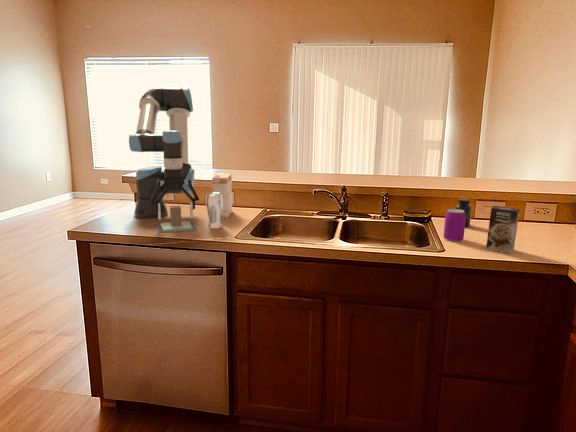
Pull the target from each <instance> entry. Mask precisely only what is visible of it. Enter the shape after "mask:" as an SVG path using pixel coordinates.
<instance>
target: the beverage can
mask: <svg viewBox="0 0 576 432" xmlns="http://www.w3.org/2000/svg"><path fill="white" fill-rule="evenodd" d="M465 221H466V216H465V212H464V210H460V209H455V208H448V209H447V211H446V213H445V219H444V226H443V227H444V228H443V229H444V230H443V238H444V239H445V240H446V239H447V240H446V241H449V240H450V241H449V242H455V241H458V242H461V241H462V240H464V239H465V238H464V236H465V228H466V227H465Z"/></svg>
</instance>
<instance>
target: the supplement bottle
mask: <svg viewBox="0 0 576 432" xmlns="http://www.w3.org/2000/svg"><path fill="white" fill-rule="evenodd" d="M470 201H471V200H470V199H468V198H458V201H457V204H456V206H455V208H454V209H460V210H464V212H465V216H466V221H465V228H467V227H468V228H469V227H471V226H470V225H471V218H472V206H471V205H470V204H471V202H470Z"/></svg>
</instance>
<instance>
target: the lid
mask: <svg viewBox="0 0 576 432" xmlns="http://www.w3.org/2000/svg"><path fill="white" fill-rule="evenodd" d="M169 211H170V212H169V215H170V221H167V222H160V223H159V224H160V225H161V227H162V230H163V232H169V231H181V230H193V227H192V226H191V224H190V223H189V222H190V221H189V220H182V208H181V206H180V205H170V206H169Z"/></svg>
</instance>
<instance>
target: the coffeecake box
mask: <svg viewBox="0 0 576 432" xmlns="http://www.w3.org/2000/svg"><path fill="white" fill-rule="evenodd" d="M211 179H212V192H218V193H222V200H223V207H222V215H221V219H228V218H229V217H230V215H231V214H232V212H233V192H232V190H233V189H232V188H233V186H232V185H233V181H232V179H233V178H232V173H229V172H228V173H227V172H219V173H216V175H213V177H212V178H211Z"/></svg>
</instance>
